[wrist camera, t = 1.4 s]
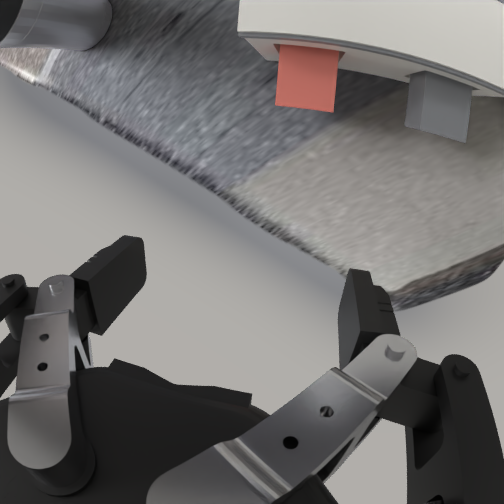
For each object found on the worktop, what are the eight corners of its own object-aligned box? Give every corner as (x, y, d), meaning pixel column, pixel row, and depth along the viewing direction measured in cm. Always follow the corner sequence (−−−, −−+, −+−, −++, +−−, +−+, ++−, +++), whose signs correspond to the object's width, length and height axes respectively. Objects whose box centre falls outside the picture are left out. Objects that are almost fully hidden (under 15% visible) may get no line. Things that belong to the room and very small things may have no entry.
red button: (280, 105, 30) (275, 105, 25) (284, 50, 27) (280, 41, 22) (329, 111, 29) (333, 112, 25) (334, 56, 26) (339, 47, 22)
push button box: (266, 62, 32) (236, 34, 18) (271, 2, 29) (245, -56, 15) (450, 97, 30) (523, 102, 16) (454, 38, 26) (523, 15, 12)
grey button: (404, 126, 28) (419, 130, 24) (410, 72, 25) (426, 67, 21) (445, 137, 27) (465, 143, 23) (451, 84, 25) (472, 83, 20)
